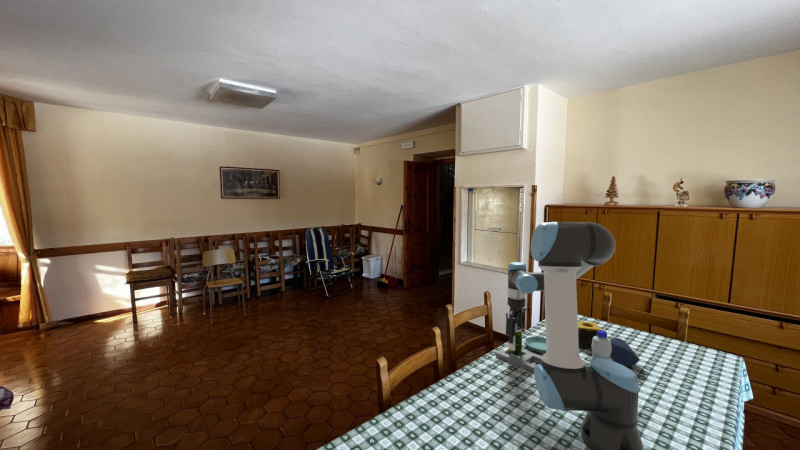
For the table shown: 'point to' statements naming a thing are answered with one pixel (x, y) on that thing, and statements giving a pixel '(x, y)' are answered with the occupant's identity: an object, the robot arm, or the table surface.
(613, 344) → the decorative stone
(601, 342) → the bottle
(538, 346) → the saucer
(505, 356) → the socket panel
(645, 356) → the table surface
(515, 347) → the beer can
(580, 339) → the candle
